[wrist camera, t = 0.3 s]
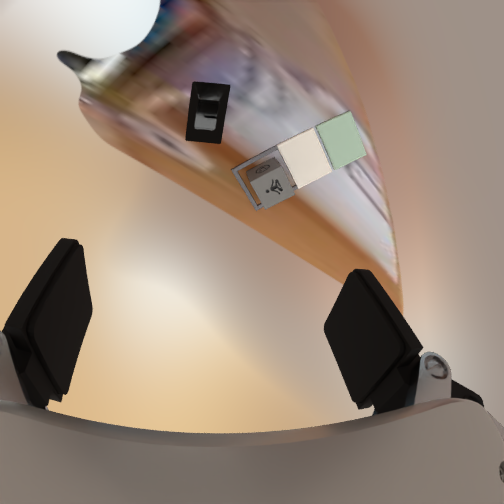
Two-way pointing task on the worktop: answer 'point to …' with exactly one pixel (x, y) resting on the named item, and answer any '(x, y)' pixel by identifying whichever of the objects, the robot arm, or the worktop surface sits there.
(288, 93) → the worktop surface
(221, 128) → the black angular block
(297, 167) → the game board
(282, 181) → the dice cube
